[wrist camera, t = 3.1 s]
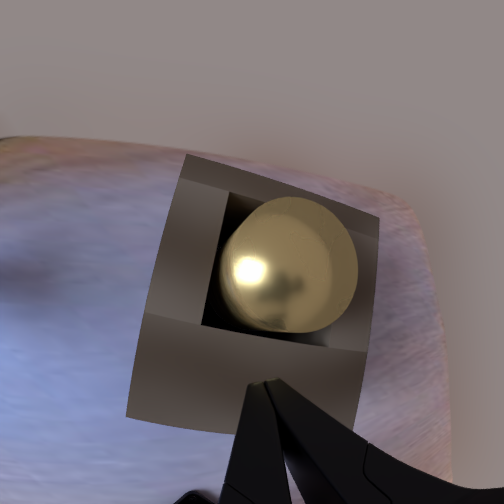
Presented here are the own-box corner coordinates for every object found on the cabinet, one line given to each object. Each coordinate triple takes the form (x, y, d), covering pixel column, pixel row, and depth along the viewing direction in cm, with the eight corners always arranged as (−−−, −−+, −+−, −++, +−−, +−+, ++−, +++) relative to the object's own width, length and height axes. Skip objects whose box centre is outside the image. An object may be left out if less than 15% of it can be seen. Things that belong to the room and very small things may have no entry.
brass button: (286, 337, 17) (350, 341, 11) (196, 319, 16) (220, 318, 10) (300, 250, 18) (362, 218, 13) (215, 227, 17) (248, 180, 11)
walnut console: (284, 403, 20) (351, 436, 13) (135, 380, 18) (125, 416, 10) (309, 251, 23) (379, 217, 16) (172, 213, 21) (186, 153, 13)
